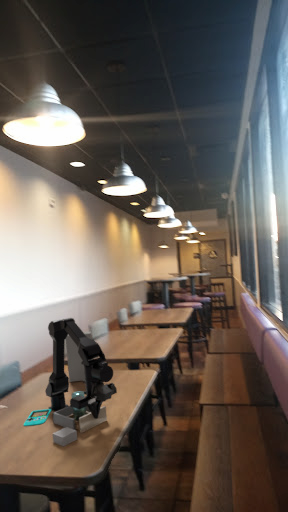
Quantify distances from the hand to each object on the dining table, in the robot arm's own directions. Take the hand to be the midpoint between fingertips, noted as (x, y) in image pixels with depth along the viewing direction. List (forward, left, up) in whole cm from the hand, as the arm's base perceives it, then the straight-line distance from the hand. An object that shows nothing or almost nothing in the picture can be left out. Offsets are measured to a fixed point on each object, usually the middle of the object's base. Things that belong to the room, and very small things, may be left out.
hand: (96, 418), depth 140 cm
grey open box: (-13, 0, -3) cm, 13 cm away
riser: (-2, -13, -3) cm, 14 cm away
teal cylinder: (-10, 0, -2) cm, 10 cm away
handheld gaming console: (-30, -7, -4) cm, 31 cm away
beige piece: (-8, 0, -3) cm, 8 cm away
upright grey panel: (-54, +36, -4) cm, 65 cm away
